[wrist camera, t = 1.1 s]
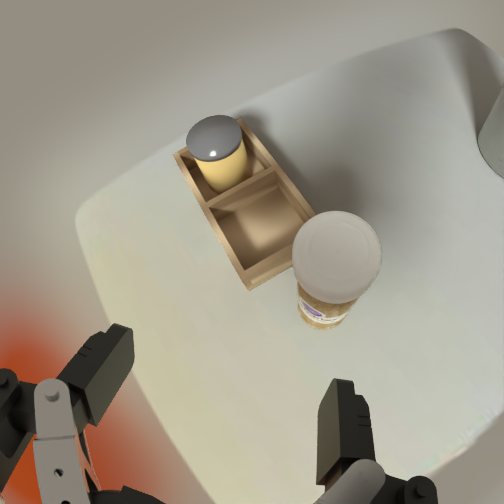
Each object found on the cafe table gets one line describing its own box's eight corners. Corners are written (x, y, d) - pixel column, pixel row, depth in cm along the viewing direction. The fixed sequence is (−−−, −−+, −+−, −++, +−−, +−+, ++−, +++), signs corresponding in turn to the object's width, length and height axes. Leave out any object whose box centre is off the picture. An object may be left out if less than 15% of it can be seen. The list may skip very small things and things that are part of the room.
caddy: (183, 172, 35) (172, 154, 32) (246, 138, 35) (240, 118, 32) (249, 291, 29) (241, 280, 26) (325, 245, 29) (327, 230, 26)
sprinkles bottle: (290, 319, 27) (276, 275, 15) (309, 272, 29) (309, 196, 16) (338, 337, 26) (368, 309, 14) (356, 289, 27) (393, 224, 15)
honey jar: (223, 152, 34) (207, 110, 28) (261, 166, 33) (251, 123, 27) (197, 186, 33) (175, 147, 27) (236, 203, 32) (219, 163, 26)
